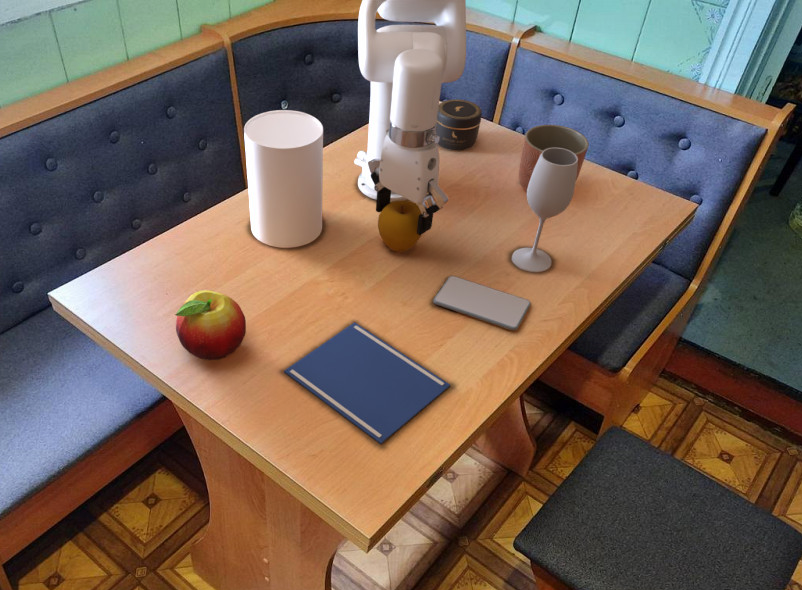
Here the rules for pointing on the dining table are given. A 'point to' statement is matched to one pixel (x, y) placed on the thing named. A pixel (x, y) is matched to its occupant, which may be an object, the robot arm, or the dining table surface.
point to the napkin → (367, 381)
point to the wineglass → (547, 200)
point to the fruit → (210, 325)
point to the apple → (399, 225)
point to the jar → (458, 124)
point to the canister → (285, 177)
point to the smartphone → (482, 302)
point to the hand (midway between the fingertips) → (402, 220)
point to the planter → (549, 138)
